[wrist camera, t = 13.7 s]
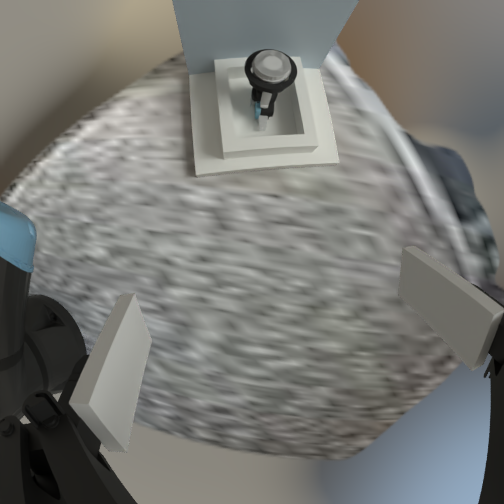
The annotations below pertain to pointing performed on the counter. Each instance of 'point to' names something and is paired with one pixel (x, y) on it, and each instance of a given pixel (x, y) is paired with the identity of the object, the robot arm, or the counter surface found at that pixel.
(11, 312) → the robot arm
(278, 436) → the counter surface
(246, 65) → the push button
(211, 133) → the holder
